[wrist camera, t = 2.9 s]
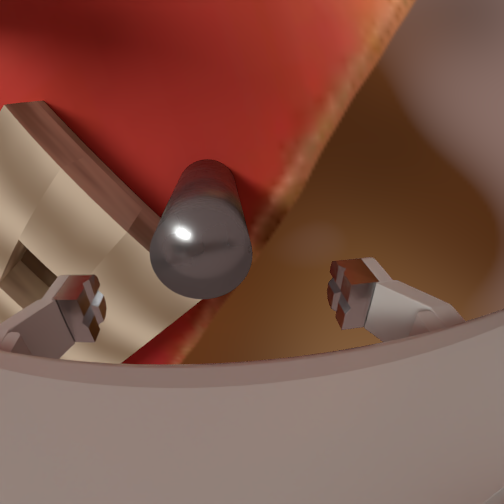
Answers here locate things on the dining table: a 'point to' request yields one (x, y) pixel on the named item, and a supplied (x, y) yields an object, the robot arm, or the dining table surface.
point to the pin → (202, 234)
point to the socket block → (76, 233)
